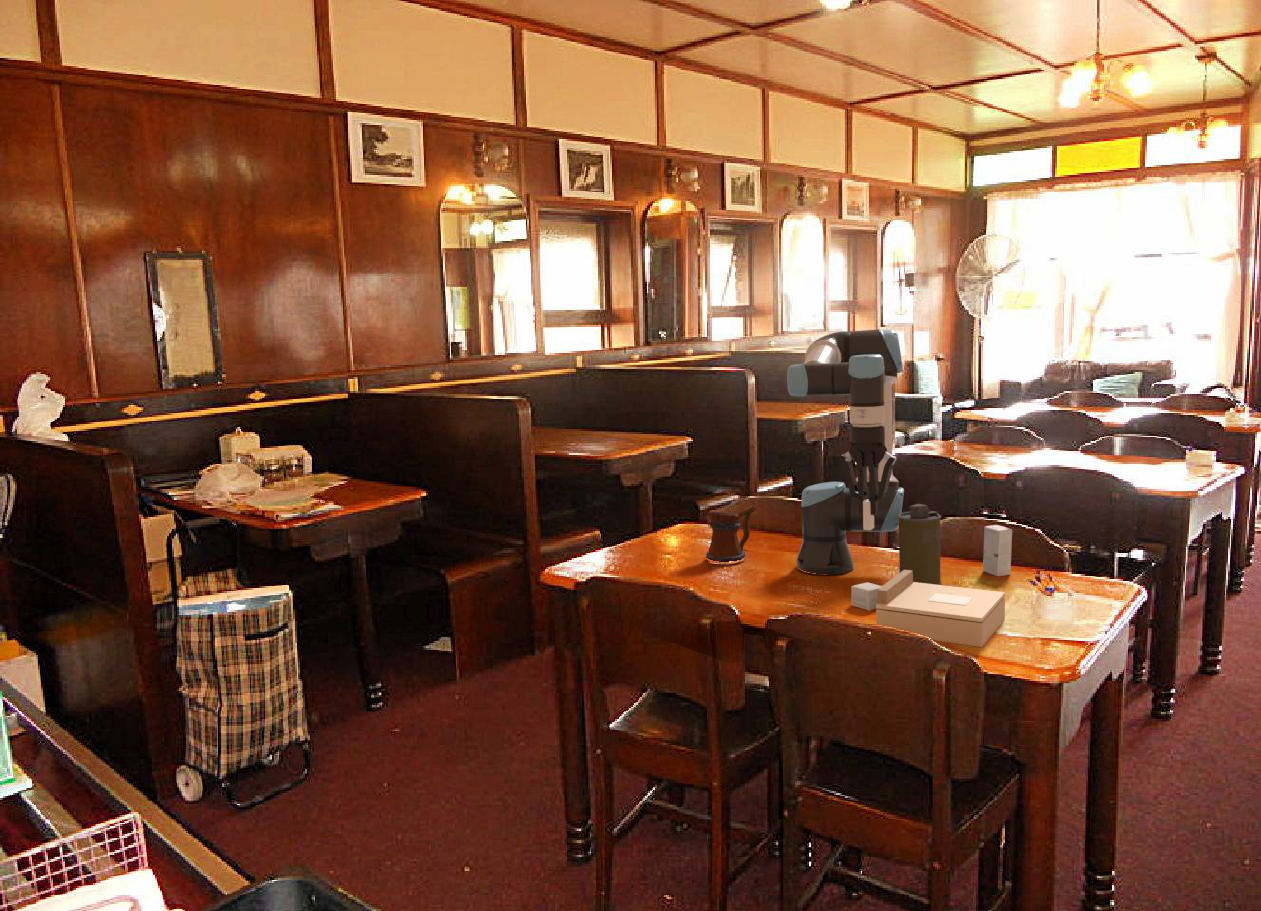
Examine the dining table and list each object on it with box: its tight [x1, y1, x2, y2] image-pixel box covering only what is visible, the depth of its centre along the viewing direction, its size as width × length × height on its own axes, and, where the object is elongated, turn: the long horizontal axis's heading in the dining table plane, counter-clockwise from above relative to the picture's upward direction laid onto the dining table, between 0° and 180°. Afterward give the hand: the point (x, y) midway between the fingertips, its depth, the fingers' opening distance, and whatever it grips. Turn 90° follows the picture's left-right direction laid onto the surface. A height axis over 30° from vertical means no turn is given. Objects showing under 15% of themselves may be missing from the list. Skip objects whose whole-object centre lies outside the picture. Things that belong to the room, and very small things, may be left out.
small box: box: [851, 582, 883, 612], centre depth 220 cm, size 6×6×5 cm
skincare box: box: [982, 524, 1013, 577], centre depth 241 cm, size 6×4×12 cm
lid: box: [876, 570, 1006, 622], centre depth 203 cm, size 22×20×4 cm
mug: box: [705, 504, 757, 562], centre depth 269 cm, size 18×12×15 cm, turn 128°
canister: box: [898, 503, 942, 585], centre depth 235 cm, size 11×10×20 cm
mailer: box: [875, 596, 1006, 648], centre depth 203 cm, size 22×20×5 cm
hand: (868, 528), depth 210 cm, fingers closed
